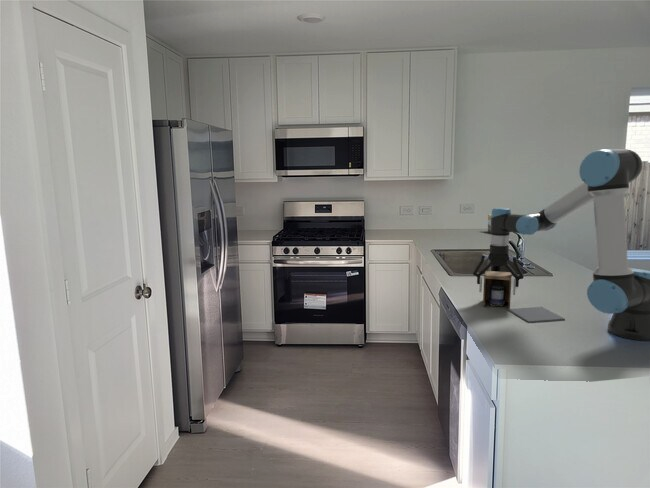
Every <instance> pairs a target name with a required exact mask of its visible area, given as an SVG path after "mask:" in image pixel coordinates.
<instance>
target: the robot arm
mask: <svg viewBox="0 0 650 488" xmlns="http://www.w3.org/2000/svg"><path fill="white" fill-rule="evenodd" d="M642 169H643V161H642V158H641V157H640V155H639V154H638V153H637V152H635V151H633V150H631V149H627V148H620V149H618V148H603V149H597V150H594V151H592V152H590V153H589V154H587V155H586V156H585V157H584V159H582V161H581V163H580V165H579V169H578V170H579V173H578V174H579V178H580V180H581V181H582V183H581V184H579V185H578V186H577V187H575V188H573V189H572V190H570V191H568V192H567V193H566V194H564V195H563V196H561V197H559V198H558V199H556V200H555V201H554V202H552V203H550V204H548V205H547V206H546V207H545V208H543V209H542V210H540V211H538V212H534V213H533V212H532V213H527V214H517V213H515V214H514V213H512V211H511V208H508V207H493V208H492V209H491V213H490V214H491V232H490V235H489V236H490V237H489V243H490V245H489V254H488V255H486V254H485V253H483V254H482V255H481V257H480V258H481V259H480V261H479V262H478V264H477V265H476V267H475V269H474V271H473V273H472V275H473V276H475V277H476V278H477V279H476V284H477V285H479V288H478V289H479V291H478V292H479V293H482V289H483V276H482V275H483V274H485V271H488V269H489V268H490V267H492V266H494V267H505V269H507V270H508V272H510V273H511V274H512V276H513V277H514V278H513V286H512V287H513V290H512V291H513V292H512V293H513V294H512V295H513V296H516V288H519V286H520V285H519V284H520V283H519V282H520V280H523V279H524V274H523V271H522V269H521V268H520V265H519V264H518V261H517V256H516V255H513V256H510V255H509V251H510V249H509V248H510V245H509V244H510V233H514V234H520V235H523V236H525V235H527V236H531V235H534V234H535V233H536V232H542V231H543V232H544V231H545V232H547V231H549V230H552V229H554V228H555V227H556V226H557V224H558V223H559V222H561V221H563V220H565V219H566V218H567V217H569V216H570V215H572V214H574V213H575V212H578V211H579V210H581V209H582V208H584V207H585V206H587V205H589V204H591V203H592V202H593V213H594V228H595V229H594V230H595V244H596V259H597V260H596V261H597V267H596V268H595V269H594V270H593V272H592V280H593V281H592V282H591V283H590V285H588V287H587V289H586V297H587V299H588V301H589V302H590V305H591V306H592V307H594V309H596V310H597V311H598V312H601V313H603V314H607V315H609V314H612V315H611V317H610V320H609V321H608V322H607V331H608V332H609V333H611V334H613V335H614V336H618V337H621V338H624V339H629V340H634V341H635V340H636V341H644V342H645V341H650V270H647V269H642V268H641V269H639V268H633V267H629V264H628V248H627V247H628V243H627V232H626V231H627V230H626V227H627V225H626V212H625V193H626V192H627V191H628V190H629V189H630V185H629V184H630V183H632V182H633V181H635V180H637V178H638V177H639V175H640V174H641V173H642ZM487 259H488V260H489V262H488V263H487V264H486V265H485V266H484V267H483V268H482V269H481V270H480V268H481V267H482V265H483V264H484V261H486V260H487ZM509 261H511V262H512V263H513V265H514V268H515V270H516V271H517V273H518V274H517V273H516V271H515V270H514V269H513V268H512V266H511V265H510V264H509V263H508V262H509Z"/></svg>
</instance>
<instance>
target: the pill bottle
mask: <svg viewBox="0 0 650 488" xmlns="http://www.w3.org/2000/svg"><path fill="white" fill-rule="evenodd" d="M503 283H504V280H499V279H492V284H491V285H490V299H489V300H488V302H489V304H490V305H491V306H493V307H503V306H504V305H505V302H504V300H505V286H504V285H503Z"/></svg>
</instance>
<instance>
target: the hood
mask: <svg viewBox="0 0 650 488" xmlns="http://www.w3.org/2000/svg"><path fill="white" fill-rule="evenodd" d="M512 276H513V275H512V274H511V273H510V271H508V272H507V271H493V270H492V271H491V270H486V271H485V272H484V276H483V296H482V297H483V298H482V299H483V300H482V307H483V308H485V305H486V302H487V301H489V299H490V285H491V284H492V279H499V280H504V283H503V285H504V286H505V300H504V303H508V309H511V296H512V295H511V294H512ZM508 309H507V310H508Z"/></svg>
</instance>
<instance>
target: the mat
mask: <svg viewBox="0 0 650 488" xmlns="http://www.w3.org/2000/svg"><path fill="white" fill-rule="evenodd" d="M507 311H509V313H512V314H513V315H515V316H517V317H518V318H520V319H522V320H523V321H525V322H526V323H529V324H532V323H541V322H543V323H544V322H557V321H558V322H559V321H565V320H566V318H565V317H562V316H560V315H559V314H557V313H555V312H553V311H551V310H550V309H547V308H545V307H543V306H532V307H531V306H530V307H519V308H518V307H516V308H510V309H507Z"/></svg>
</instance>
